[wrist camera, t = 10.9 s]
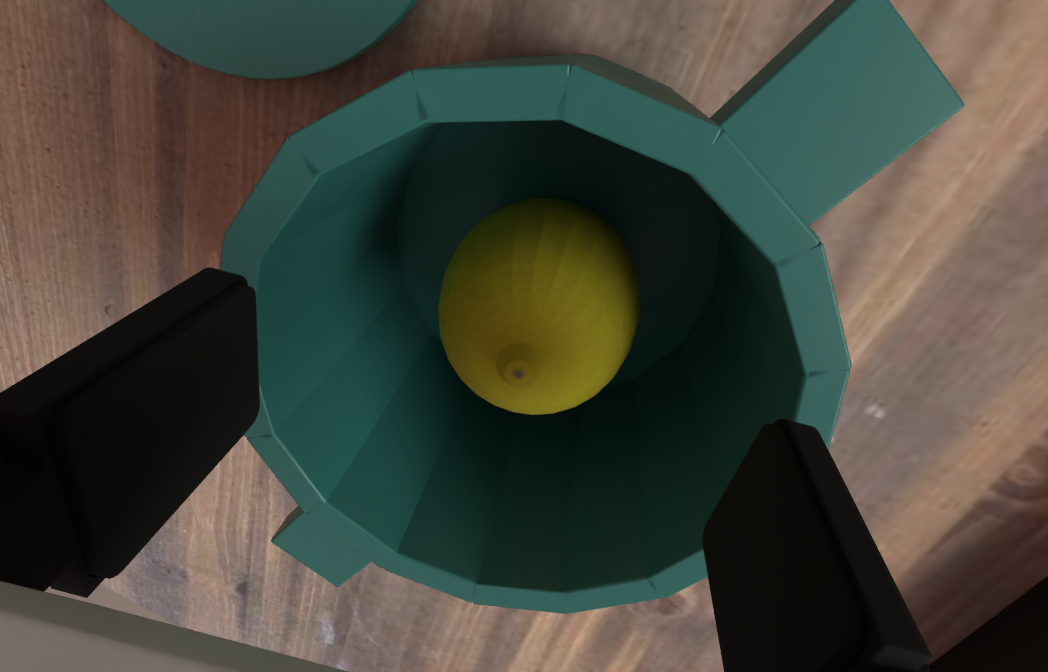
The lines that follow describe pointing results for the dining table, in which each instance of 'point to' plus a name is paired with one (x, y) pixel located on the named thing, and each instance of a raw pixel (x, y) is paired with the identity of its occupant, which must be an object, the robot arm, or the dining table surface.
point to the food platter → (1006, 640)
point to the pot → (662, 333)
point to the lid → (265, 32)
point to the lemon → (539, 306)
